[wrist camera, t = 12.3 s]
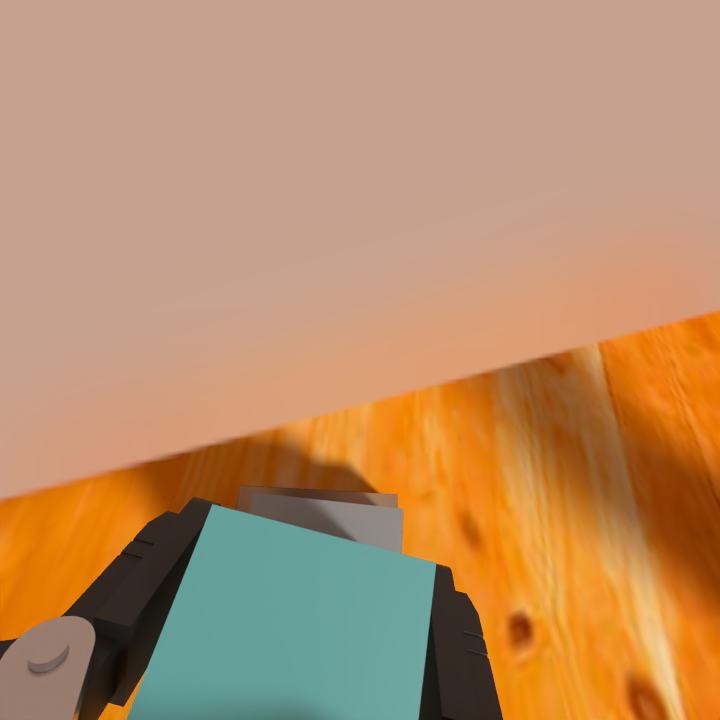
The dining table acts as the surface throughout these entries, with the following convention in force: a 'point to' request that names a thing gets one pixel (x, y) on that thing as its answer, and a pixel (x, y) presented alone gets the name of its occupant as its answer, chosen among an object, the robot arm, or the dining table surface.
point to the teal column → (290, 628)
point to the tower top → (335, 519)
